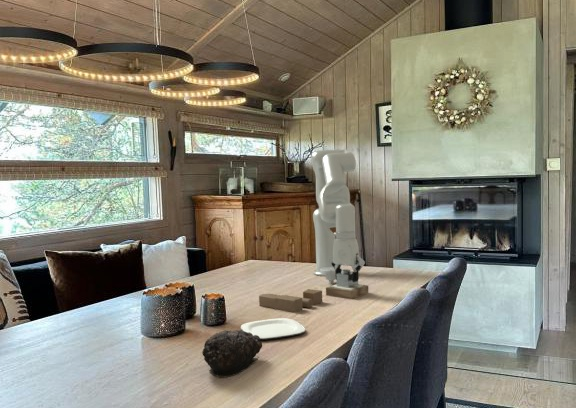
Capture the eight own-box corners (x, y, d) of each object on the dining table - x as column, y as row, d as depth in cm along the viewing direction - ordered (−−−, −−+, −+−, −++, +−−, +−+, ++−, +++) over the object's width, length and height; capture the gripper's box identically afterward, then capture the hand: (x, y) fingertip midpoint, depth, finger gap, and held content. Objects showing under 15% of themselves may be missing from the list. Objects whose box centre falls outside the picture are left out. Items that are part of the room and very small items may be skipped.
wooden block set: (296, 298, 177) (257, 292, 189) (297, 314, 178) (258, 307, 189) (324, 288, 191) (286, 283, 202) (324, 303, 191) (287, 297, 202)
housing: (346, 283, 208) (346, 267, 207) (358, 284, 204) (357, 269, 204) (336, 286, 202) (336, 270, 202) (348, 287, 199) (348, 271, 199)
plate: (236, 328, 163) (236, 323, 163) (289, 321, 169) (289, 316, 169) (253, 345, 146) (252, 339, 146) (311, 336, 152) (311, 331, 152)
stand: (343, 289, 212) (343, 281, 211) (368, 293, 204) (368, 284, 204) (326, 295, 202) (325, 286, 202) (351, 299, 195) (351, 290, 195)
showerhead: (319, 269, 219) (320, 265, 229) (320, 286, 220) (320, 281, 229) (341, 268, 218) (341, 264, 228) (342, 285, 219) (342, 280, 229)
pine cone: (267, 356, 136) (266, 319, 135) (232, 382, 120) (231, 340, 119) (234, 352, 140) (232, 316, 139) (195, 376, 124) (193, 335, 123)
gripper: (322, 235, 205) (323, 279, 206) (359, 238, 193) (360, 284, 194) (333, 233, 210) (334, 276, 211) (370, 235, 199) (371, 281, 200)
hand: (347, 280), depth 203 cm, fingers open, 7 cm apart
